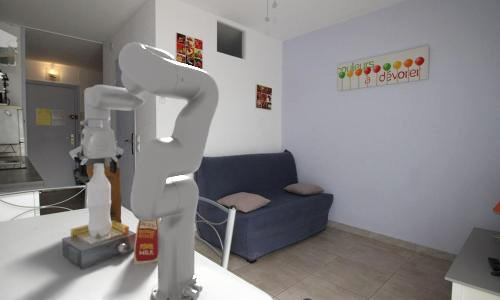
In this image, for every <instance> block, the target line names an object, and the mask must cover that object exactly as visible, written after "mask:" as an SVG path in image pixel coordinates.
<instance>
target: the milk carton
mask: <svg viewBox="0 0 500 300" xmlns="http://www.w3.org/2000/svg"><path fill="white" fill-rule="evenodd" d="M160 220H161V218H159V219H156V220H152V221H141V220H139V219H138V221H137V226H136V230H135V233H136V237H135V244H134V250H133V265H140V264H149V263H158V227H159V223H160Z"/></svg>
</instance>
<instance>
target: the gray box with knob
mask: <svg viewBox="0 0 500 300" xmlns="http://www.w3.org/2000/svg"><path fill="white" fill-rule="evenodd" d="M111 222H112V227H111V230H110V232H109V233H107V235H105V236H100V234H99V233H98V235H97V236H96V237H92V236H91V235H90V233H89V230H88V224H84V225H82V226H77V227H74V228H70V235H69V236H67V237H63V238H61V244H62V245H61V246H62V248H61V249H62V257H64V258H65V259H66V260H68V261H70V262H71V263H72V264H73V265H75V266H76V267H77V268H79V270H85V269H87V268H88V269H89V268H90V267H93V266H96V265H98V264H101V263H104V262H106V261H109V260H111V259H114V258H117V257H120V256H122V255H125V254H127V253H130V252H134V244H135V237H136V232H134V231H132V230H130V226H128V225H126V224H124V223H119V222H117V221H115V220H111Z"/></svg>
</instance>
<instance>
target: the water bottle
mask: <svg viewBox="0 0 500 300" xmlns="http://www.w3.org/2000/svg"><path fill="white" fill-rule="evenodd" d="M93 166H94V168H93V169H94V170H93V171H94V173H93V176H92V178H91V180H90V179H89V182H88V183H87V188H86V190H87V209H88V213H89V216H88V217H89V218H88V219H89V220H88V223H87V225H88V230H89V233H90V235H91V236H92V237H96V236H97V235H98V233H99V234H100V236H105V235H107V233H109V232H110V230H111V227H112V222H111V218H110V207H111V185H110V182H109V180H108V179H107V177H106V176H105V174H104V170H105V169H104V166H105V164H104V163H103V162H99V163H96V162H95V163H93Z"/></svg>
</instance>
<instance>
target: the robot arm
mask: <svg viewBox="0 0 500 300" xmlns="http://www.w3.org/2000/svg"><path fill="white" fill-rule="evenodd" d="M118 54H119V55H118V67H119V69H120V71H121V76H120V79H121V83H122V85H123V87H122V86H121V87H120V86H115V85H114V86H113V85H106V84H95V85H93V86H91V87H86V88H85V89H84V92H83V94H84V95H83V97H84V119H83V120H80V126H83V127H84V128H83V129H82V131H81V136H80V137H81V138H80V146H78V147H76V148H74V149H72V150H70V151H69V152H68V154H69V155H70V158H72V160H73V161H74V162H75V163H76V164H77V165H78V173H79V175H80V177H83V178H85V177H86V178H87V177H88V173H87V167H88V166H87V164H86V163H87V162H88V160H89V159H90V160H91V159H92V160H94V159H96V160H97V159H109V160H110V161H109V166H110V172H111V173H116V170H117V167H118V162H119V160H120V159H121V158H122V156H123V154H124V153H125V150H124V149H123V148H121V147H120V146H118V145H117V143H116V141H117V140H116V136H115V131H114V128H113V129H111V111H112V110H114V111H128V112H129V111H133V110H137V109H138V108H140V107H142V106H143V105H144V104H146V102H147V100H148V98H149V95H150V94H151V95H153V96H156V97H161V98H169V99H176V100H183V101H186V102H187V104H185V106H183V108H182V109H181V110H180V112H179V113H178V114H177V117H176V119H175V122H174V127H173V130H172V134H171V135H170V136H169V137H156V138H155V137H154V138H151V139H149V140H148V141H146V142H145V143H144V144H143V145H142V146H141V148H140V150H139V152H138V154H137V159H136V164H135V170H134V176H133V180H132V186H131V191H130V192H131V193H130V197H129V199H130V204H129V205H130V209H131V212H132V215H133V216H134V217H135V218H136V219H137V220H138V221H139V220H141V221H152V220H156V219H159V218H160V223H159V227H158V262H157V282H156V283H155V284H154V285H153V286H152V289H151V296H152V298H153V300H198V299H199V296H200V292H202V291H203V286H201V282H200V280H199V279H198V275H197V276H196V275H195V246H196V245H195V241H196V240H195V239H196V238H195V234H196V233H195V231H196V226H195V225H196V213H197V207H198V203H199V196H200V195H199V194H200V191H199V187H198V184H197V183H196V181H195V180H194V179H193V178H192V177H191V176H187V175H190V174H193V173H196V172H197V171H198V170H199V168H200V166H201V164H202V161H203V157H204V152H205V150H206V145H207V141H208V138H209V133H210V129H211V125H212V121H213V120H214V117H215V113H216V111H217V108H218V105H219V99H220V96H219V95H220V94H219V92H220V91H219V87H218V84H217V83H216V81H215V79H214V77H212V76H211V74H209V73H208V72H207V71H204V70H203V69H200V68H198V67H195V66H192V65H188V64H186V63H181V62H178V61H176V59H175V57H174V56H173V55H172V54H170V53H169V52H167V51H165V50H163V49H161V48H157V47H154V46H150V45H147V44H144V43H141V42H137V41H133V42H129V43H126V44H125V45H124V46H122V49H121V50H120V52H119V53H118ZM79 152H80V156H81V157H78V155H77V154H78V153H79Z"/></svg>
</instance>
